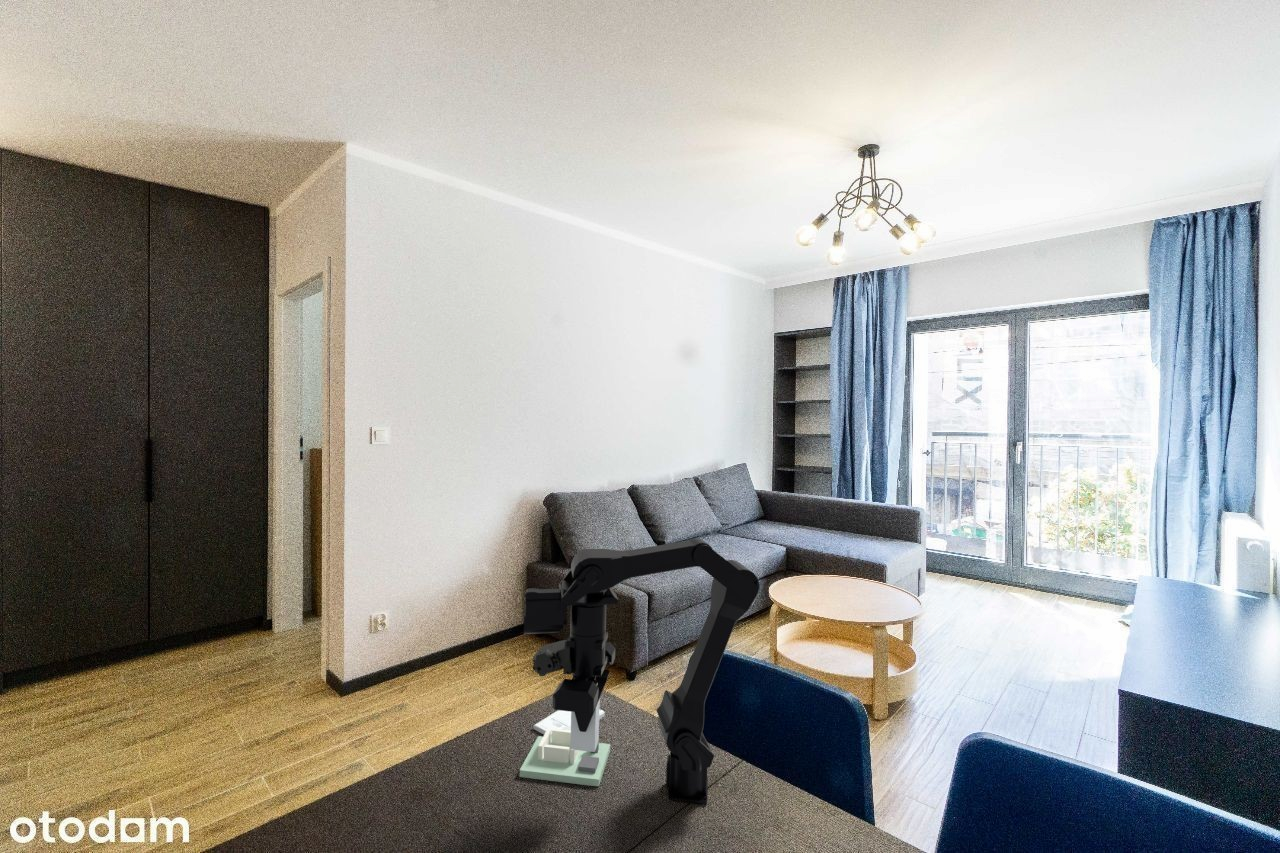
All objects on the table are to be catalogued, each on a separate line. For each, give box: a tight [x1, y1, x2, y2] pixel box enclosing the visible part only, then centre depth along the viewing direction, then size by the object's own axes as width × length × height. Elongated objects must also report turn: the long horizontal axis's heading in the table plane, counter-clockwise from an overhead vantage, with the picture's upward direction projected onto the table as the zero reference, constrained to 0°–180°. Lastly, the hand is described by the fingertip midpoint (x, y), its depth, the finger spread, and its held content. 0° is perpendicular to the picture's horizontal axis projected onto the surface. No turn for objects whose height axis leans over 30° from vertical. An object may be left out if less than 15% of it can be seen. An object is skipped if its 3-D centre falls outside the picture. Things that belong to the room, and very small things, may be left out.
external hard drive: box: [533, 709, 606, 738], centre depth 110 cm, size 2×8×12 cm
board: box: [519, 728, 611, 787], centre depth 97 cm, size 14×10×4 cm
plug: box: [570, 698, 601, 752], centre depth 87 cm, size 4×3×9 cm
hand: (585, 725), depth 87 cm, fingers closed on plug, 3 cm apart
